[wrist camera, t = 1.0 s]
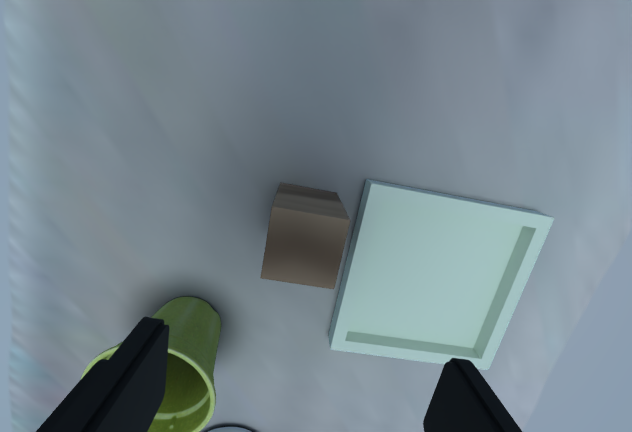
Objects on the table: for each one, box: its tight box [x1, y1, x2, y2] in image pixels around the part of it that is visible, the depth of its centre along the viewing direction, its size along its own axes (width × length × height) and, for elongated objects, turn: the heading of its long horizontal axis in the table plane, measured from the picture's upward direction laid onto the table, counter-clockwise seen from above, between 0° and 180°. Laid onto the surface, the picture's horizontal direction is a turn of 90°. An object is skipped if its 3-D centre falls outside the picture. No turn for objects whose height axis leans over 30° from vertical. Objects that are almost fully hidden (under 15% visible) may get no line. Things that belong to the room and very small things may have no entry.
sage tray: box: [328, 179, 554, 370], centre depth 29 cm, size 16×16×2 cm
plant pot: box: [81, 297, 221, 432], centre depth 26 cm, size 9×9×9 cm
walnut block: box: [261, 183, 350, 289], centre depth 23 cm, size 5×5×8 cm
